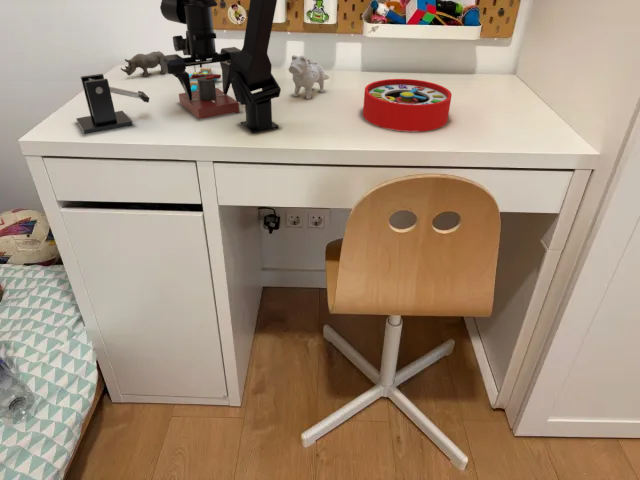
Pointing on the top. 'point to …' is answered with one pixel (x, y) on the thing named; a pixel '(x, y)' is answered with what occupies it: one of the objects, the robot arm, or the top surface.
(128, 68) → the rhino figurine
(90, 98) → the lever bracket
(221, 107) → the dial panel
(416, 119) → the toy clock
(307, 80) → the dog figurine
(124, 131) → the top surface
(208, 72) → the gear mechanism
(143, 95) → the lever
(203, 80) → the timer dial
